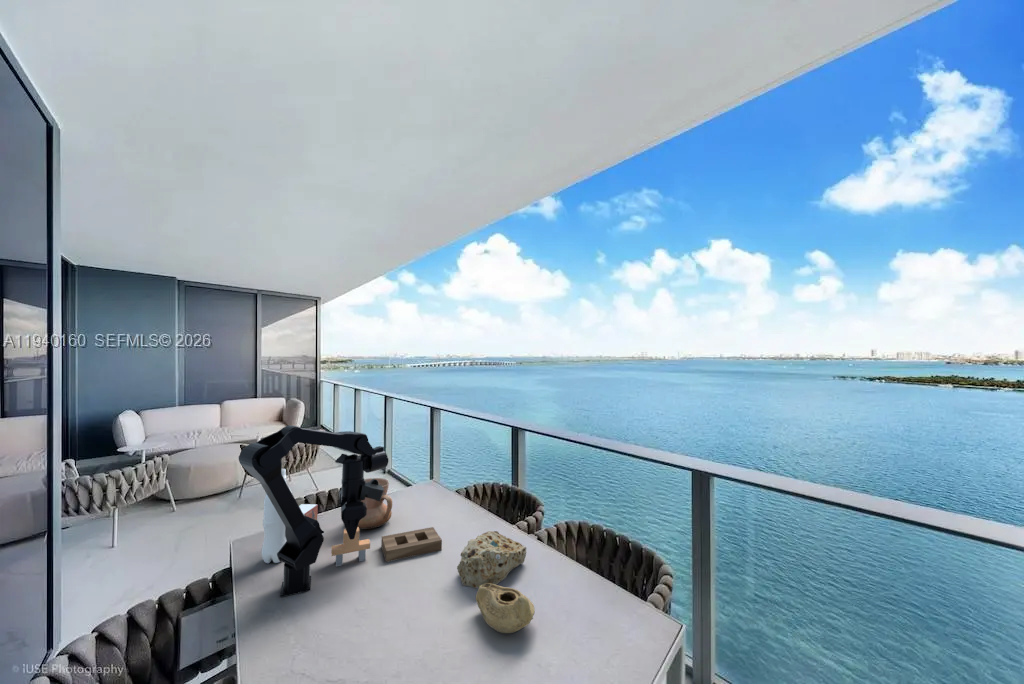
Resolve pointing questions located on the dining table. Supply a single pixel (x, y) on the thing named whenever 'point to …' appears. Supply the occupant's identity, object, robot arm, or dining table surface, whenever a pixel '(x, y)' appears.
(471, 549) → the rock
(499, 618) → the oil lamp
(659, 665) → the dining table surface
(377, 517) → the ceramic jug
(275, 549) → the water bottle
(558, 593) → the dining table surface
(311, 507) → the small box
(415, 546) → the brown slotted block
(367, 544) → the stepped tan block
